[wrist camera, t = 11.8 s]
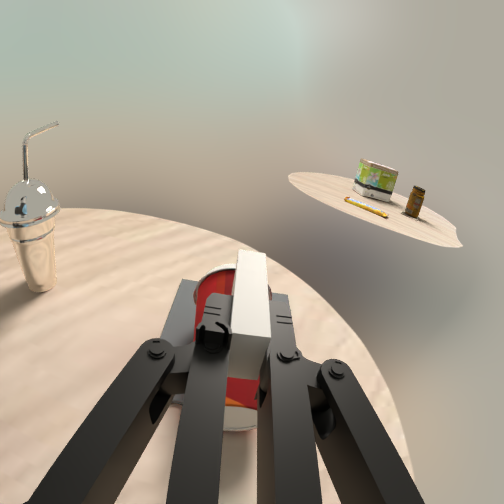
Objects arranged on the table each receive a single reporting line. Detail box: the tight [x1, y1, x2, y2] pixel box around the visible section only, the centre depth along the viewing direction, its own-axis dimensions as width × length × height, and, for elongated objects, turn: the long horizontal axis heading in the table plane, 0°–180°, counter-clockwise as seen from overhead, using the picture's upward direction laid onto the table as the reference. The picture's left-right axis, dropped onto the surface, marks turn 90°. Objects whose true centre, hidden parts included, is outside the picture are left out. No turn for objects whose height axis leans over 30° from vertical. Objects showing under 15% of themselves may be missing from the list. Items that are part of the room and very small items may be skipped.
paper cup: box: [193, 264, 272, 431], centre depth 23 cm, size 8×8×14 cm
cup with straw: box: [0, 121, 60, 293], centre depth 25 cm, size 8×9×20 cm
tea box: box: [352, 159, 398, 202], centre depth 109 cm, size 15×10×15 cm
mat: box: [160, 279, 290, 404], centre depth 29 cm, size 18×14×1 cm
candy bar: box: [344, 197, 387, 216], centre depth 89 cm, size 17×4×2 cm, turn 50°
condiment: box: [402, 186, 425, 221], centre depth 95 cm, size 7×8×12 cm
